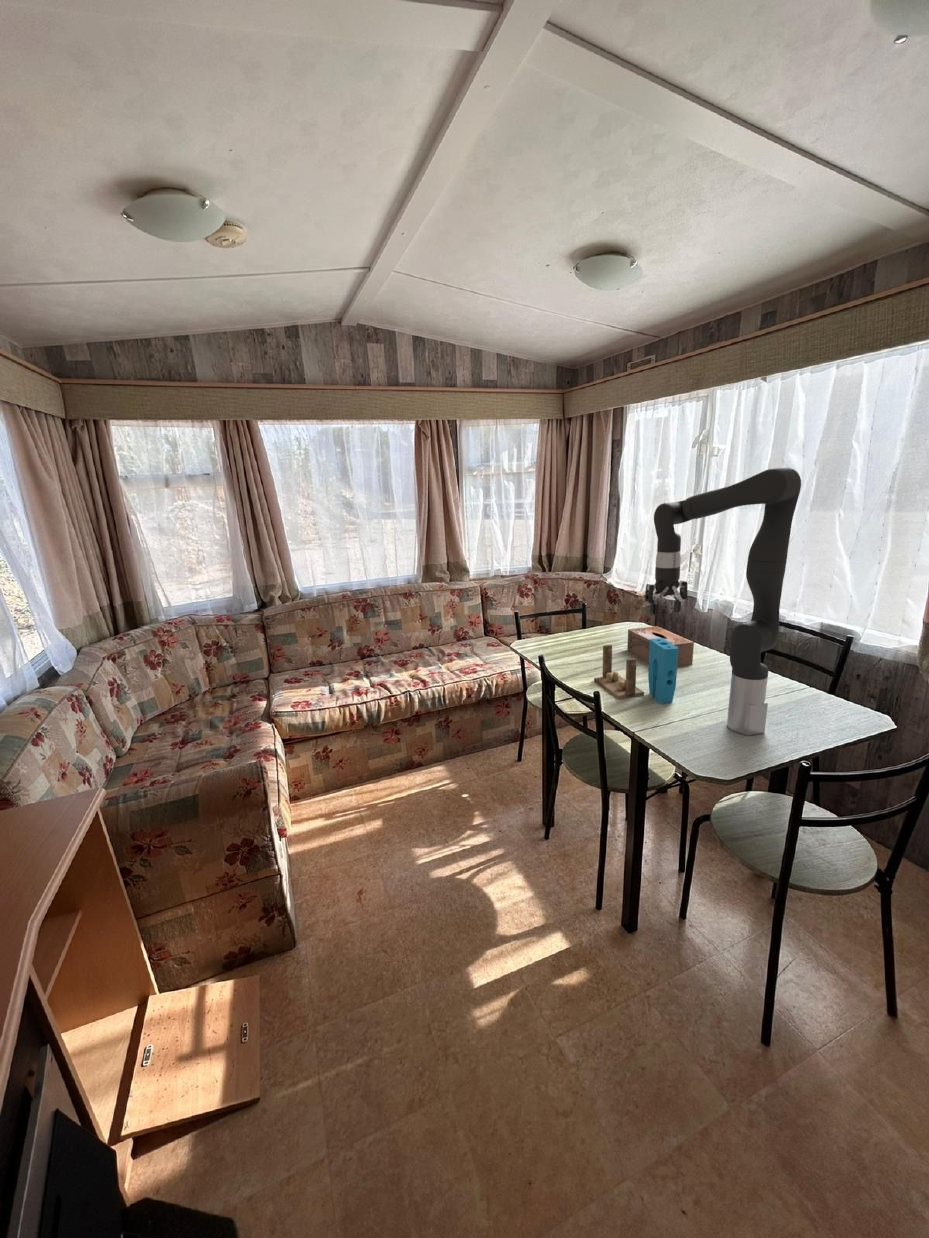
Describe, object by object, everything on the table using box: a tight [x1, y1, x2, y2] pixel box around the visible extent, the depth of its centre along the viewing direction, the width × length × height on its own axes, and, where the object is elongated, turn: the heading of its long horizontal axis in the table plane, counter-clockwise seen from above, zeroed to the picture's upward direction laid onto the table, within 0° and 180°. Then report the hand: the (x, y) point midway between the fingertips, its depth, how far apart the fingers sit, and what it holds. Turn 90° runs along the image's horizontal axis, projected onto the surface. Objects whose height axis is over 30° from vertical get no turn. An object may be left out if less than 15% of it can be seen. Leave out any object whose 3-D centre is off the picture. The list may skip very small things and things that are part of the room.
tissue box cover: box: [626, 625, 695, 668], centre depth 211 cm, size 26×14×10 cm, turn 12°
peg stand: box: [593, 644, 645, 700], centre depth 181 cm, size 10×18×14 cm, turn 13°
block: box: [647, 638, 678, 704], centre depth 170 cm, size 12×5×20 cm, turn 4°
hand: (665, 613), depth 164 cm, fingers open, 8 cm apart
